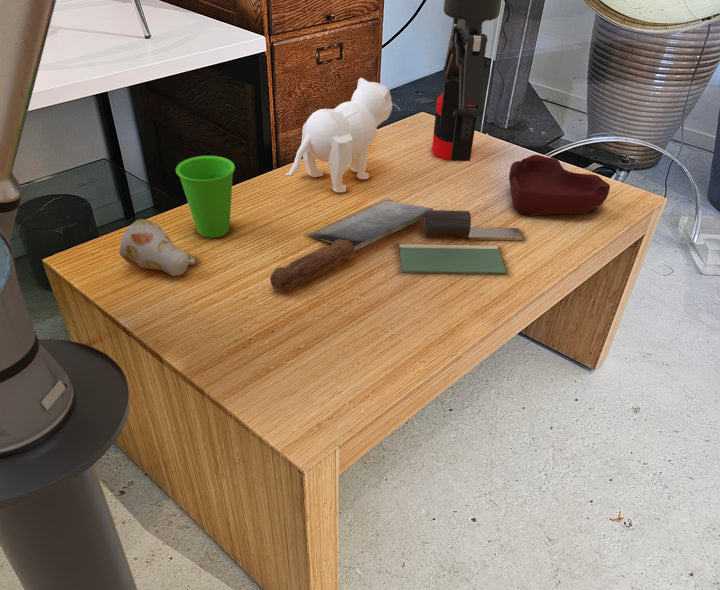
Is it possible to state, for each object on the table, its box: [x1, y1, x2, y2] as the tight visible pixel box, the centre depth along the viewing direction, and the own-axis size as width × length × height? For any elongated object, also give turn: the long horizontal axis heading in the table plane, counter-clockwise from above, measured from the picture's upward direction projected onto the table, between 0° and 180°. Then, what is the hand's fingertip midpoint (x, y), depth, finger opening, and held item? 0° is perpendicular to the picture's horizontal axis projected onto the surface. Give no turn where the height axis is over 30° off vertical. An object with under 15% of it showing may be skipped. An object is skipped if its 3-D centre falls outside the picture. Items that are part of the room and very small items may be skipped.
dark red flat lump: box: [508, 154, 611, 217], centre depth 119 cm, size 18×16×5 cm
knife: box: [424, 209, 523, 241], centre depth 109 cm, size 16×4×4 cm, turn 91°
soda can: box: [431, 92, 473, 161], centre depth 133 cm, size 8×8×12 cm
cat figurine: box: [284, 77, 400, 193], centre depth 120 cm, size 25×10×17 cm, turn 131°
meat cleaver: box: [269, 200, 434, 292], centre depth 106 cm, size 34×11×4 cm, turn 136°
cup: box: [175, 155, 236, 239], centre depth 105 cm, size 9×9×11 cm
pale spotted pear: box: [119, 218, 196, 277], centre depth 98 cm, size 8×10×10 cm
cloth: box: [398, 243, 507, 275], centre depth 104 cm, size 16×8×1 cm, turn 91°
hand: (454, 141), depth 100 cm, fingers open, 13 cm apart
